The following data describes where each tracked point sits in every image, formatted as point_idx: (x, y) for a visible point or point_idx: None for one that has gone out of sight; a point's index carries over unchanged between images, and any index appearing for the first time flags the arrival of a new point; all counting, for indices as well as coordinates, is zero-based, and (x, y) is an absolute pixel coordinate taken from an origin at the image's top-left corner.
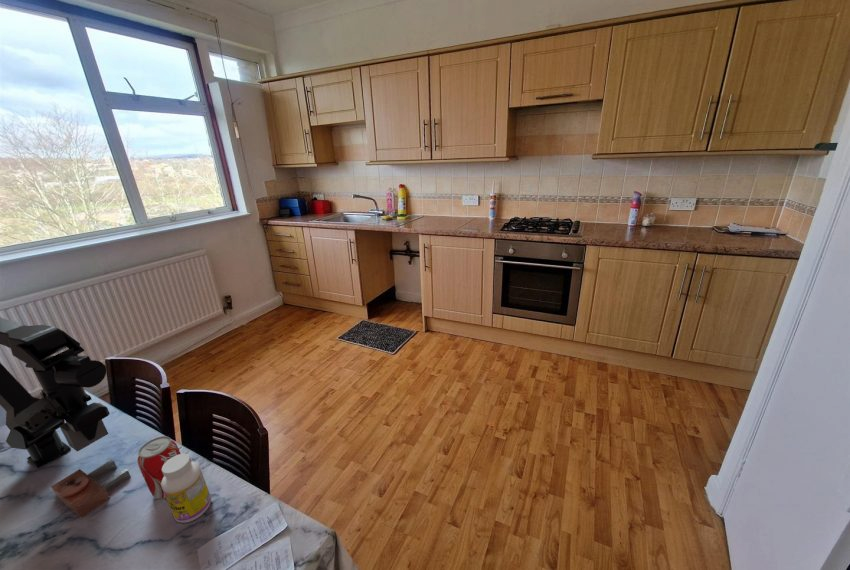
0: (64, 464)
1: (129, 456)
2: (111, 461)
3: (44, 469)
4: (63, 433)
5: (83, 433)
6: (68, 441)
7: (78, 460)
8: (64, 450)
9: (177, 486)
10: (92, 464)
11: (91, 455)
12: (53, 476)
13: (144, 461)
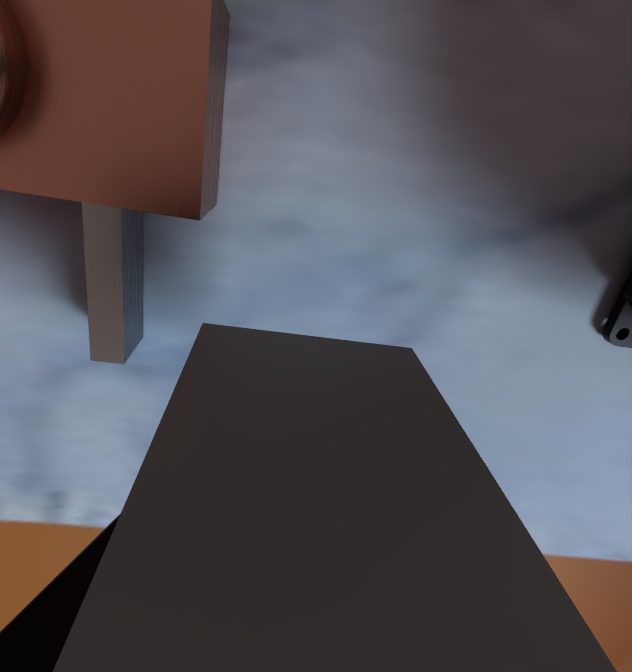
0: (515, 244)
1: (142, 407)
2: (101, 351)
3: (621, 172)
4: (486, 504)
5: (15, 620)
6: (381, 393)
7: (451, 294)
8: (629, 318)
9: None
10: (312, 300)
11: (406, 344)
12: (481, 148)
13: None
